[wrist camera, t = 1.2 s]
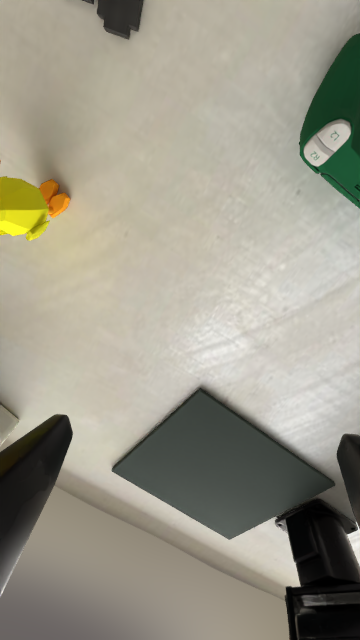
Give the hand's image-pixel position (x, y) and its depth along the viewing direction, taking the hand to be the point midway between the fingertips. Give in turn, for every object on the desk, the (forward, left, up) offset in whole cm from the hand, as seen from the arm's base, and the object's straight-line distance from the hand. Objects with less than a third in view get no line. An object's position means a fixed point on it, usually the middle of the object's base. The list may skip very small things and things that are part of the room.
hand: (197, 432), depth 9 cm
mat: (-14, +15, -13) cm, 24 cm away
